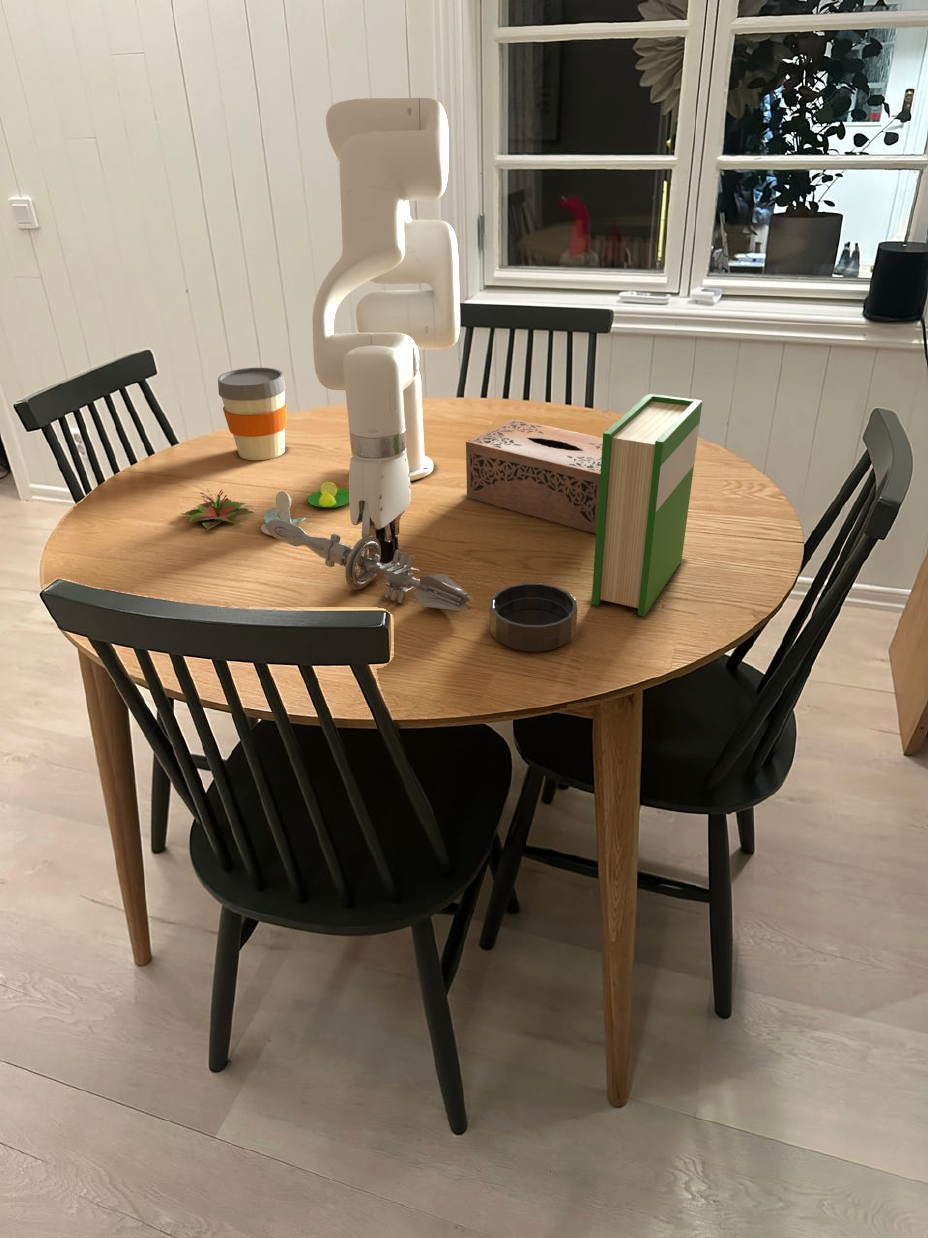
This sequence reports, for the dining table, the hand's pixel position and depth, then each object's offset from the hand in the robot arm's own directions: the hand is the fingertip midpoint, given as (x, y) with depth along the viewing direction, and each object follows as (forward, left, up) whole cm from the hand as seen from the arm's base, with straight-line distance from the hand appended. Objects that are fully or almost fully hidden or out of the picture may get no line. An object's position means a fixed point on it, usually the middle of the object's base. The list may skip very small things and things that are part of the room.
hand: (387, 561), depth 124 cm
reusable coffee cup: (-47, +32, -1) cm, 57 cm away
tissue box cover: (+14, +32, -1) cm, 35 cm away
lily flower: (-35, +4, -1) cm, 35 cm away
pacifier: (-22, +4, -1) cm, 22 cm away
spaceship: (0, -7, -1) cm, 7 cm away
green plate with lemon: (-21, +17, -1) cm, 27 cm away
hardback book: (+35, +10, -1) cm, 36 cm away
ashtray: (+26, -8, -1) cm, 27 cm away
